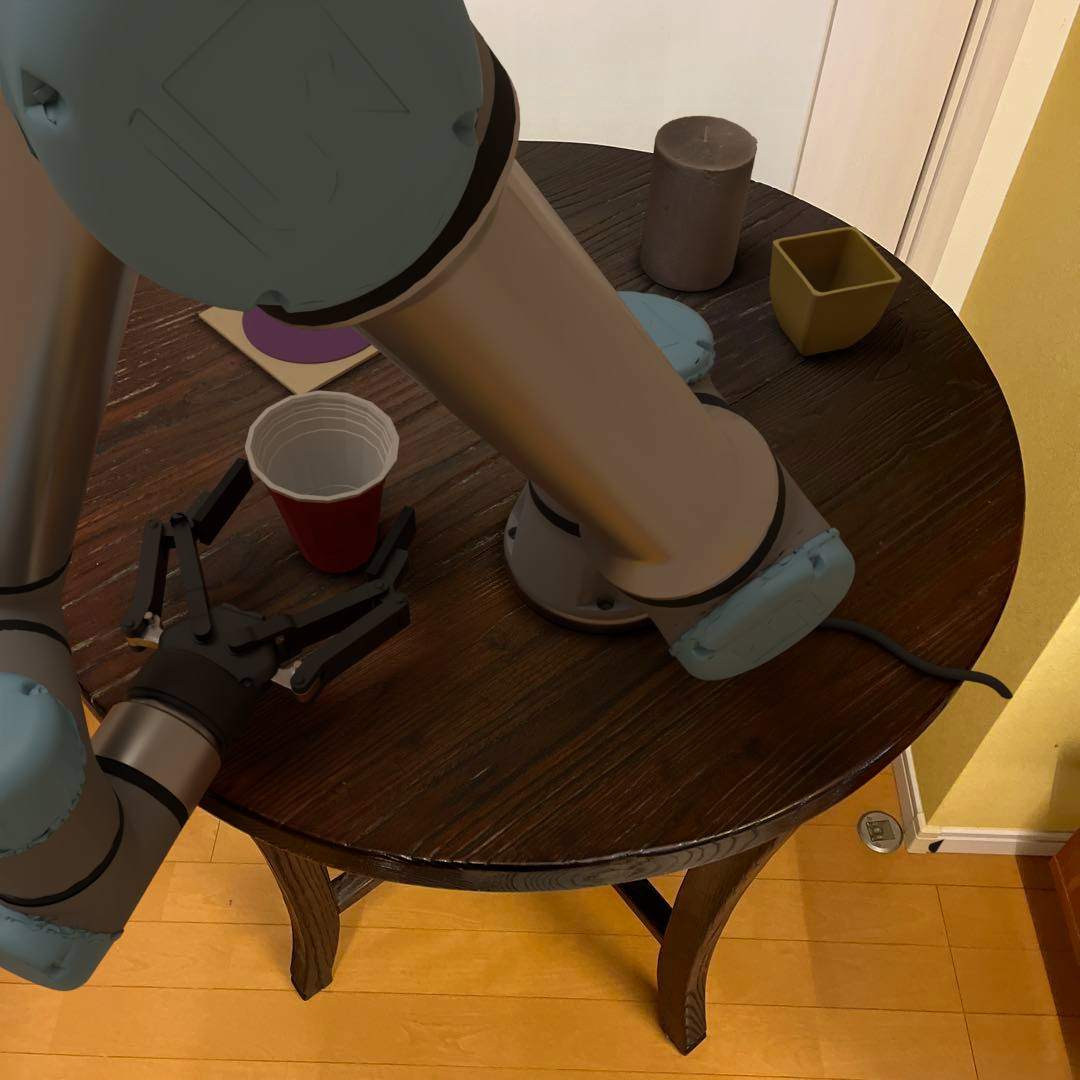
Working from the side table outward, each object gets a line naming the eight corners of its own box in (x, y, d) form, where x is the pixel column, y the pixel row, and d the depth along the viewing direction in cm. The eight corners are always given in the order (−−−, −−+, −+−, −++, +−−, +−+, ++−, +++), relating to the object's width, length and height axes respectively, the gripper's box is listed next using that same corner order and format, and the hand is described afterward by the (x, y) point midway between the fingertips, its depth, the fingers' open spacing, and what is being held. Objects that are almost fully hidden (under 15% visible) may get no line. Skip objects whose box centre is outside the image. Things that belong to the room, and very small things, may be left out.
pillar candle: (627, 243, 112) (641, 107, 100) (714, 231, 114) (737, 96, 102) (658, 299, 106) (676, 162, 95) (749, 285, 108) (777, 149, 96)
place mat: (426, 325, 103) (426, 320, 102) (300, 399, 96) (299, 394, 95) (323, 253, 110) (322, 248, 109) (199, 317, 103) (197, 312, 102)
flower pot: (833, 301, 107) (855, 223, 100) (877, 356, 101) (904, 278, 94) (753, 317, 105) (771, 239, 98) (794, 374, 99) (815, 296, 92)
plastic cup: (387, 612, 81) (372, 507, 72) (252, 587, 82) (220, 481, 73) (426, 507, 88) (416, 399, 78) (300, 486, 89) (277, 377, 80)
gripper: (23, 701, 72) (191, 485, 85) (360, 821, 67) (484, 572, 80) (-19, 638, 66) (168, 416, 79) (346, 764, 61) (482, 505, 74)
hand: (327, 494), depth 79 cm, fingers open, 13 cm apart
